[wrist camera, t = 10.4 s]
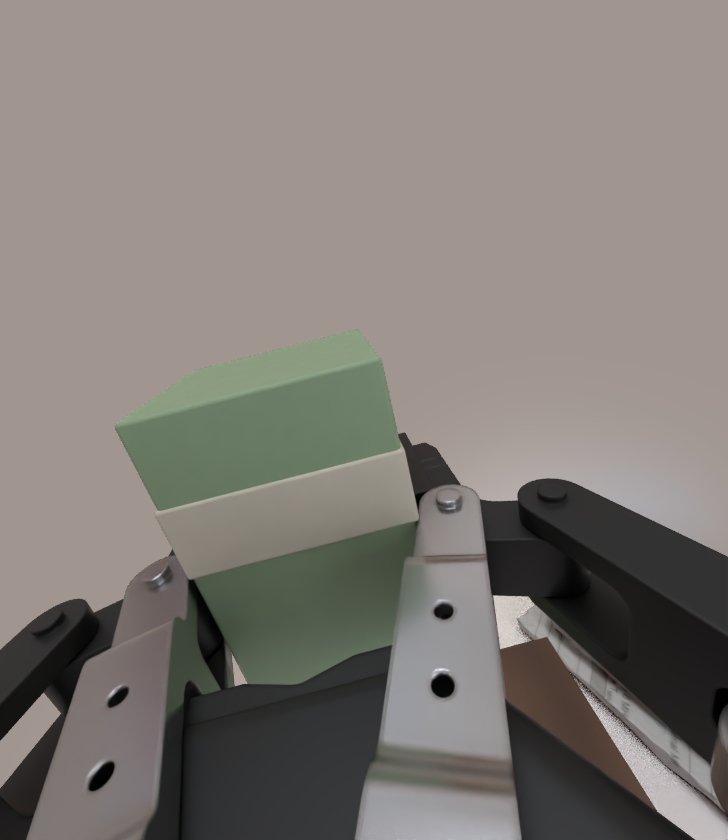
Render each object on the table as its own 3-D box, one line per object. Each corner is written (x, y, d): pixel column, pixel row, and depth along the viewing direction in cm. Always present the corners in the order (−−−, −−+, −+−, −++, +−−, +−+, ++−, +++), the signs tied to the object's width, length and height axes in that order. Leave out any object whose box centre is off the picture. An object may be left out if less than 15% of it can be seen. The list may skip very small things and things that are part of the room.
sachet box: (303, 799, 10) (106, 427, 6) (309, 655, 14) (191, 370, 10) (470, 755, 10) (385, 356, 6) (429, 623, 14) (361, 327, 10)
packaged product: (982, 722, 17) (893, 895, 14) (947, 781, 19) (860, 947, 15) (595, 527, 33) (510, 585, 29) (596, 569, 34) (516, 628, 31)
